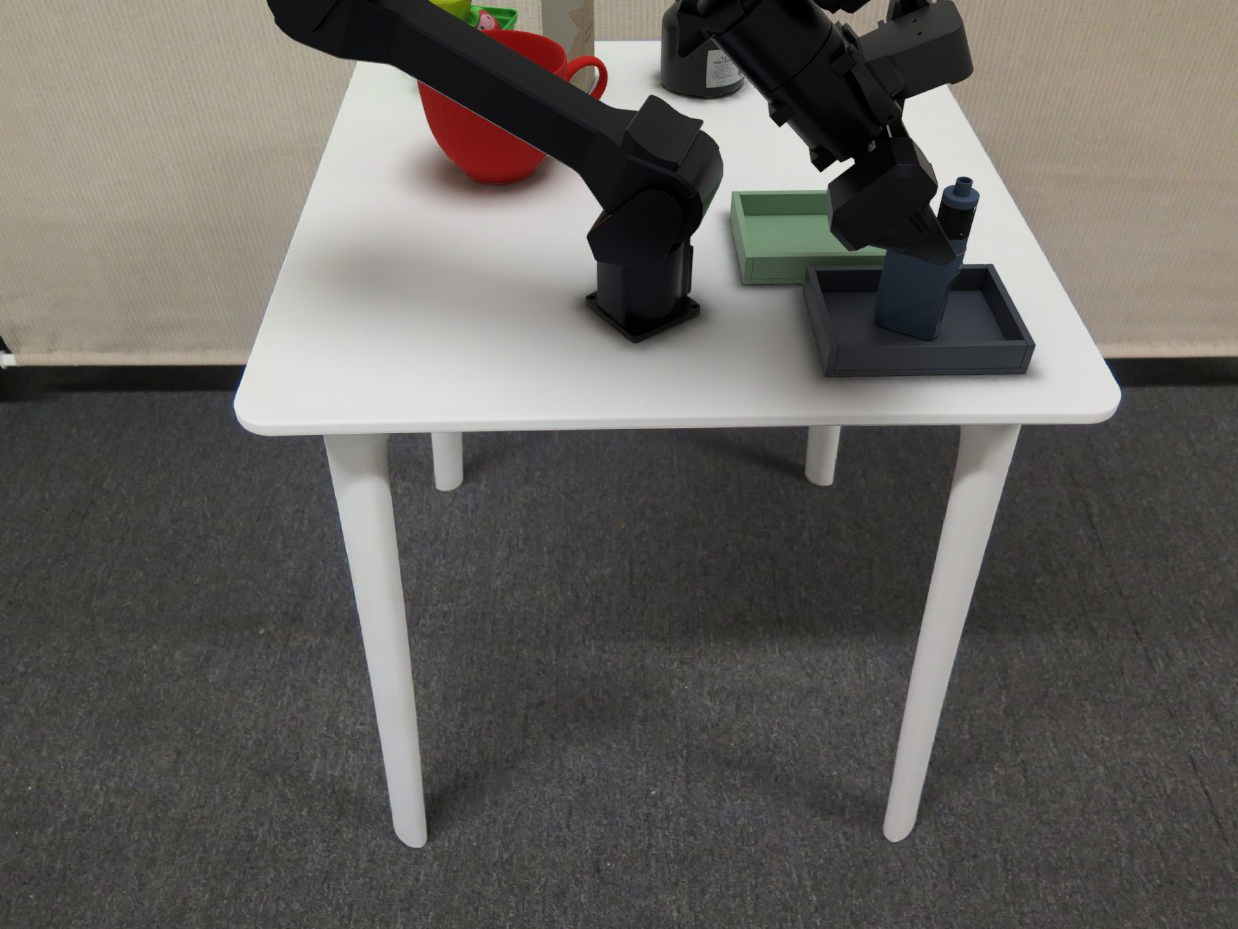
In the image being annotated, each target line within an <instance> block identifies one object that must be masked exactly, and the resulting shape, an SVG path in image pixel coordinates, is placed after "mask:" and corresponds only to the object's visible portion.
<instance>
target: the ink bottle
mask: <svg viewBox="0 0 1238 929" xmlns="http://www.w3.org/2000/svg"><path fill="white" fill-rule="evenodd" d="M679 2H680V0H674V2H673V3H672V5H671V6H670V7H668V9H666V11H665V12H664V13H663V15H662V18H661V31H660V32H661V33H660V35H661V36H660V64H659V65H660V66H659V67H660V70H659V75H660V76H659V77H660V80H661V81H660V82H661V83H662V85H664V86H665V88H667V89H669V90H671V91H673V92H676V93H678V94H683V95H688V96H693V97H694V96H696V97H720V96H725V95H728V94H730V93H733V92H735V91H736V90H738V89H740V87H742V85H743V84H744V81H745V78H746V77H745V76H744V75H743V74H742V73H741V72H740V71H739V69H738V68H737V67H736V66H735V65H734V64H733V63H732V62H731V61H730V59H729V58H728V57H727V56H726V55H725V54H724V53H723V52H722V51H721V49H720V48H719V47H718V46H717V45H716V44H715V43H714V42H713V41H712V40H711V39H709V40H708V41H707V42H705V43H704V44H703V45H702V46H701V47H699V48H698V49H697V50H696V51H695V52H693V53H692V54H691V55H690V56H689V57H687V58H686V59H681V58H679V57H678V56H677V47H678V38H679V26H678V20H677V16H676V11H677V8H678V5H679Z"/></svg>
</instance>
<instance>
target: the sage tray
mask: <svg viewBox="0 0 1238 929" xmlns="http://www.w3.org/2000/svg"><path fill="white" fill-rule="evenodd" d="M826 194H827V189H798V190H796V189H795V190H791V189H790V190H787V189H786V190H732V191H731V196H730V197H731V198H730V208H729V209H730V210H729V221H730V225H731V231H732V236H733V240H734V246H735V251H736V256H737V260H738V265H739V271H740V275H741V280H742V284H743V285H791V284H792V285H794V284H798V285H799V284H801V285H802V284H803V285H804V280H805V273H806V267H807V266H814V267H815V266H870V265H883V264H884V260H885V255H886V250H885V249H881V248H876V247H872V246H866V247H865V248H862V249H859V250H858V251H848V250H847V249H846V248H845V247H844V246H843V245H842V244H841V243H840V242H839V241H838V240H837V239H836V238H835V236H834V235H833V234H832V233H831V232H830V229H829V223H828V218H827V212H826V206H825V200H826Z"/></svg>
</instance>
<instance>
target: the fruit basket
mask: <svg viewBox="0 0 1238 929" xmlns="http://www.w3.org/2000/svg"><path fill="white" fill-rule="evenodd" d="M429 1H430V2H432V3H433V4H435V5H437V6H439V7H440V8H442V9H444V10H445V11H447V12H449V13H451V14H452V15H454V16H456V17H457V18H459V19H461V20H463V21H464V22H466V23H468V24H469V25H471V26H473V27H475V28H476V29H478V30H515V27H516V24H517V22H518V16H519V10H517V9H515V8H511V7H510V8H509V7H498V6H487V5H478V4H477V5H475V4H472V3H473V0H429Z"/></svg>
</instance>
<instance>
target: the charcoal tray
mask: <svg viewBox="0 0 1238 929" xmlns="http://www.w3.org/2000/svg"><path fill="white" fill-rule="evenodd" d="M882 269H883V265H870V266H815V267H814V266H807V267H806V273H805V280H804V284H803V288H802V297H803V301H804V305H805V308H806V312H807V316H808V319H809V323H810V327H811V330H812V334H813V337H814V341H815V346H816V348H817V352H818V356H819V360H820V364H821V367H822V371H823V374H824V377H878V376H879V377H880V376H938V375H940V376H944V375H945V376H947V375H1003V374H1004V375H1005V374H1006V375H1008V374H1027V372H1028V368H1029V366H1030V363H1031V361H1032V358H1033V355H1034V352H1035V349H1036V346H1037V345H1036V342H1035V340H1034V339H1033V336H1032V335H1031V333H1030V330H1029V329H1028V327H1027V325H1026V323H1025V321H1024V319H1023V318H1022V316H1021V314H1020V312H1019V310H1018V308H1017V306H1016V304H1015V303H1014V300H1013V299H1012V297H1011V295H1010V293H1009V291H1008V290H1007V288H1006V286H1005V284H1004V282H1003V280H1002V278H1001V276H1000V274H999V273H998V271H997V269H996V267H995V265H994V263H963V266H962V268H961V270H960V273H959V274H958V275H957V276H956V277H955V278H954V279H953V282H952V285H951V289H950V293H949V297H948V300H947V304H946V308H945V311H944V315H943V319H942V322H941V326H940V333H939V335H938V336H937V337H936V338H934V339H933V340H925V339H921V338H918V337H914V336H911V335H907V334H904V333H901V332H897V331H894V330H891V329H887V328H884V327H882V326H880V325H879V324H878V323H877V322H876V316H875V313H874V307H875V302H876V298H877V293H878V288H879V283H880V279H881V274H882Z"/></svg>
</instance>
